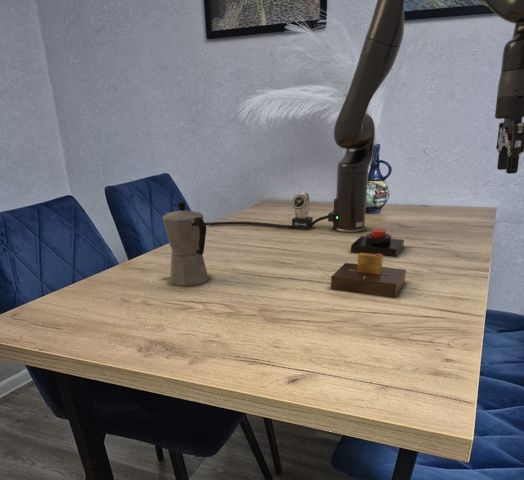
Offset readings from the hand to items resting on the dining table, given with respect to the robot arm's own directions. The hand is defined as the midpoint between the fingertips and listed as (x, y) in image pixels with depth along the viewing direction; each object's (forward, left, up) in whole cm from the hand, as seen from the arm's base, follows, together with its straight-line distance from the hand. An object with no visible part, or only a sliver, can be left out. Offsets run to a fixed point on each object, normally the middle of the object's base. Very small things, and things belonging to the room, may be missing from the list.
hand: (506, 171), depth 111 cm
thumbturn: (-23, -32, -18) cm, 43 cm away
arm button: (-28, -4, -17) cm, 33 cm away
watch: (-57, +13, -21) cm, 62 cm away
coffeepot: (-62, -44, -21) cm, 79 cm away
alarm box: (-28, -4, -21) cm, 35 cm away
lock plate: (-23, -32, -21) cm, 44 cm away
